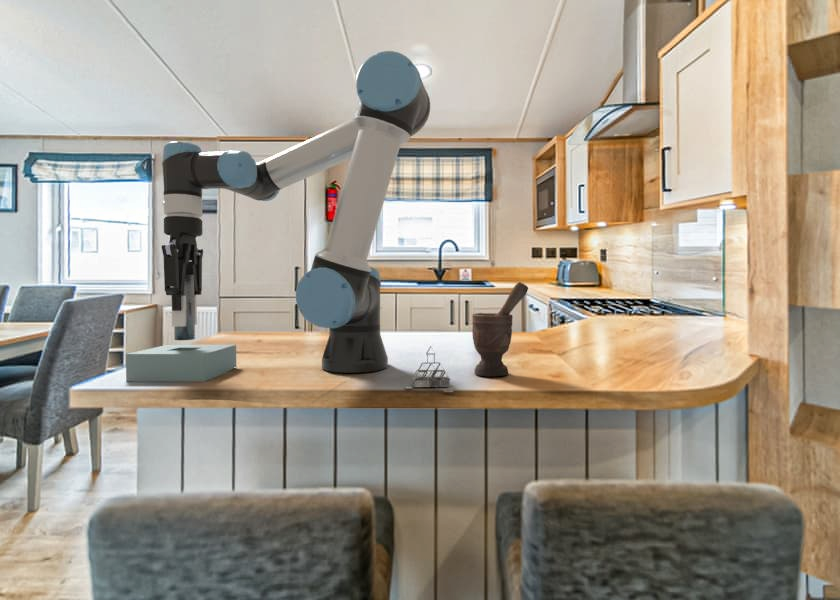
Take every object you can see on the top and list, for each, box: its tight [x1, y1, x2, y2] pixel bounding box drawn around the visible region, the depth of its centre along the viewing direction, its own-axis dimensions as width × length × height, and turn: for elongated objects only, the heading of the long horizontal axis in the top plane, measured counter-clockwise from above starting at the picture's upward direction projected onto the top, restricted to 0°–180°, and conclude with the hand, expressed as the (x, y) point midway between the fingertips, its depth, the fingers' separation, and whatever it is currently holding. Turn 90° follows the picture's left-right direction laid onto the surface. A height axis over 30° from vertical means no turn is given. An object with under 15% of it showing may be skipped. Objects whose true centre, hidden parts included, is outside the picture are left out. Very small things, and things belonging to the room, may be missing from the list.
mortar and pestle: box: [471, 281, 529, 378], centre depth 105 cm, size 12×9×20 cm
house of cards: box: [405, 345, 455, 393], centre depth 94 cm, size 9×9×8 cm
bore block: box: [125, 344, 237, 382], centre depth 107 cm, size 16×16×6 cm
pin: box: [173, 275, 196, 341], centre depth 106 cm, size 4×4×14 cm
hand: (184, 325), depth 106 cm, fingers closed on pin, 4 cm apart
